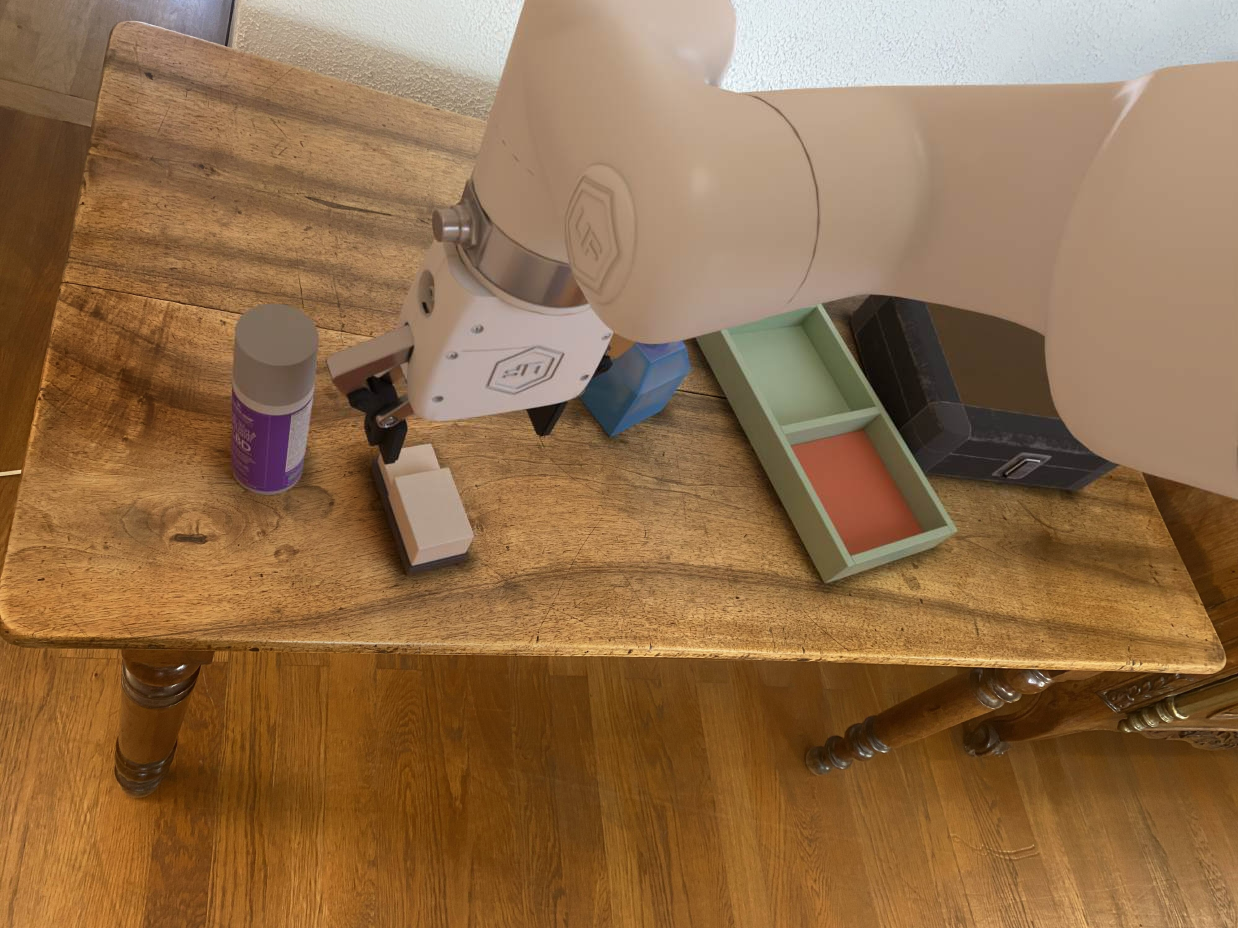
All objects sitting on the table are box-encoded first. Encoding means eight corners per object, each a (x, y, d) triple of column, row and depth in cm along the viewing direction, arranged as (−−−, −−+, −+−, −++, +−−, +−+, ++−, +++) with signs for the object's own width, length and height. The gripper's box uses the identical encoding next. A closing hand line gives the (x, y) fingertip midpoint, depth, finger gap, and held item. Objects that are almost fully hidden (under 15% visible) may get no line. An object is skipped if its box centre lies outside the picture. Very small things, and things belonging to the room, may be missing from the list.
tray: (800, 322, 90) (819, 299, 87) (932, 547, 81) (958, 530, 78) (693, 335, 83) (710, 312, 81) (824, 583, 74) (848, 566, 71)
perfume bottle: (619, 358, 78) (673, 268, 69) (661, 411, 77) (722, 326, 68) (567, 382, 75) (616, 290, 65) (610, 437, 74) (667, 352, 64)
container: (217, 476, 60) (215, 342, 48) (254, 427, 62) (261, 288, 51) (281, 506, 60) (295, 381, 48) (315, 456, 63) (336, 326, 51)
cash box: (893, 479, 83) (946, 436, 77) (843, 314, 93) (887, 265, 87) (1086, 499, 92) (1147, 462, 86) (1022, 346, 102) (1072, 304, 96)
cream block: (465, 561, 63) (478, 538, 60) (406, 576, 61) (416, 552, 58) (427, 456, 66) (437, 428, 63) (369, 466, 64) (377, 438, 61)
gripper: (378, 313, 33) (332, 513, 47) (735, 280, 42) (608, 457, 55) (326, 168, 36) (297, 397, 49) (671, 165, 44) (566, 361, 58)
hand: (462, 429), depth 52 cm, fingers open, 9 cm apart
